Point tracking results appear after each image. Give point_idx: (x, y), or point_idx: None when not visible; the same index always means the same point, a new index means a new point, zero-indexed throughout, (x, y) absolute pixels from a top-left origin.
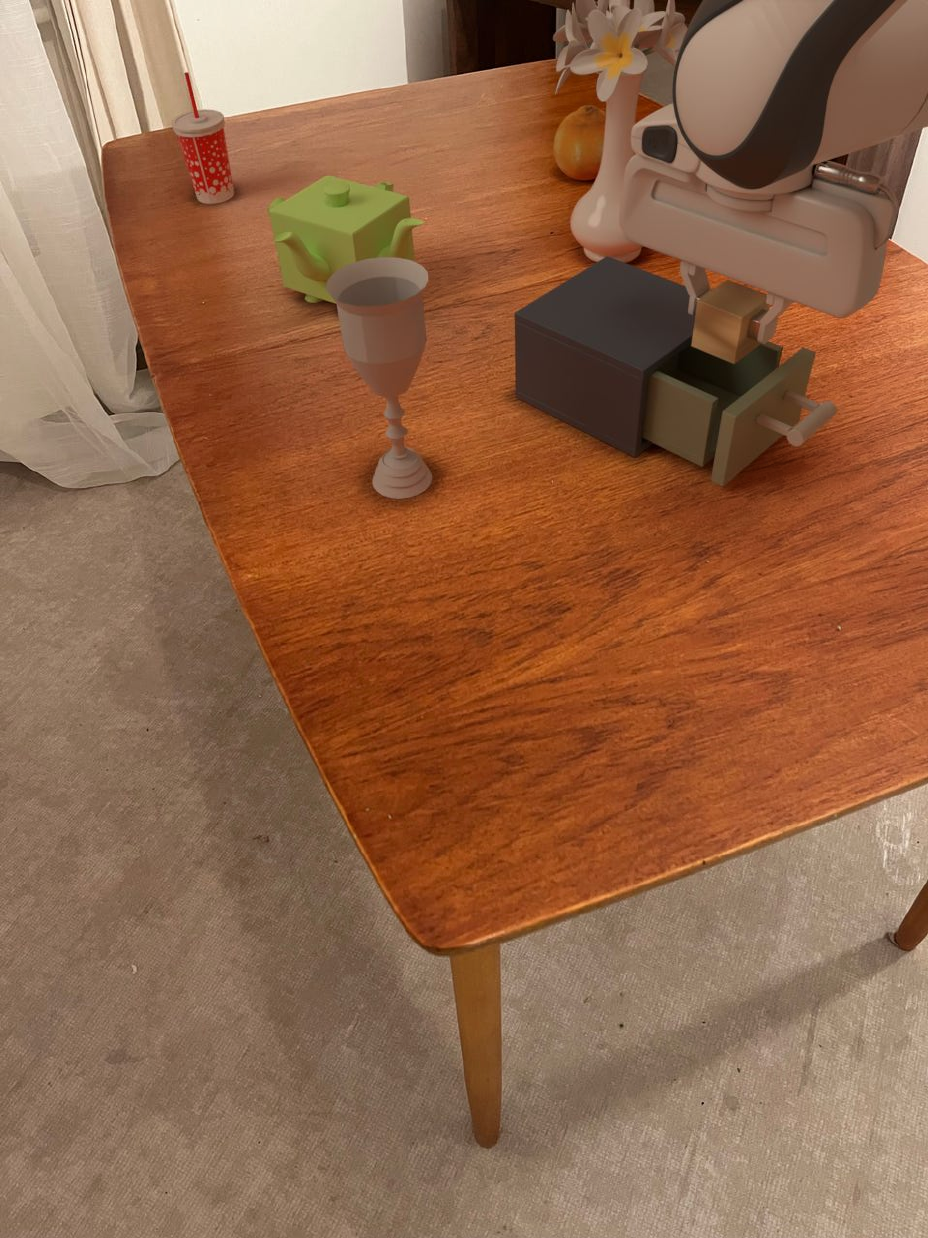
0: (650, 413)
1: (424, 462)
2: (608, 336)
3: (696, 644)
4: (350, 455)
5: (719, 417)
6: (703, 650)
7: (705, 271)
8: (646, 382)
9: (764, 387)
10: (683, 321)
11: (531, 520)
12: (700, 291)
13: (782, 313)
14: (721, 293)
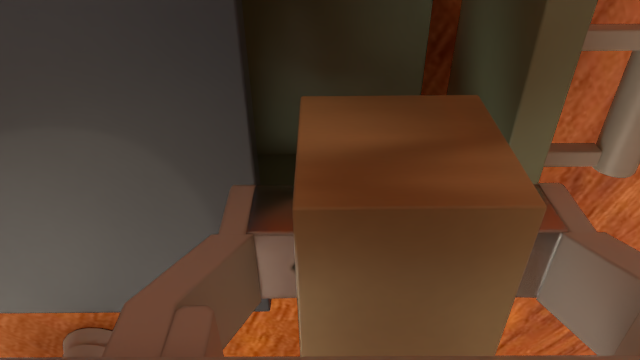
0: None
1: (101, 348)
2: (102, 271)
3: (536, 338)
4: (20, 357)
5: (367, 45)
6: (546, 339)
7: (204, 282)
8: None
9: (527, 167)
10: (173, 104)
11: (271, 318)
12: (251, 286)
13: (616, 239)
14: (345, 297)
